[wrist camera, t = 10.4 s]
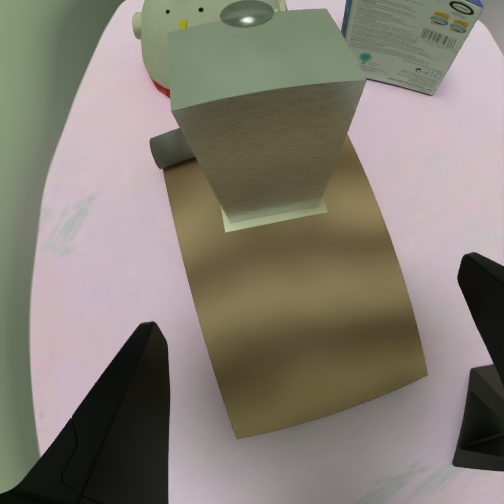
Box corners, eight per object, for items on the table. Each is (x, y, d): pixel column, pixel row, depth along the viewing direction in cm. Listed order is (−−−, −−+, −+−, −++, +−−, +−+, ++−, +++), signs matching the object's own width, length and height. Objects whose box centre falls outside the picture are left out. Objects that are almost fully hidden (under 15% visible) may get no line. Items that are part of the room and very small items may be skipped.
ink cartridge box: (426, 60, 24) (474, -41, 10) (434, 98, 23) (500, -9, 9) (336, 38, 25) (354, -81, 11) (336, 74, 24) (362, -61, 10)
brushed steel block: (318, 206, 21) (366, 80, 8) (230, 223, 21) (171, 111, 8) (300, 140, 22) (316, -7, 9) (219, 156, 22) (167, 16, 9)
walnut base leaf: (420, 372, 20) (443, 381, 16) (238, 432, 20) (232, 453, 16) (328, 108, 24) (334, 81, 20) (163, 154, 24) (147, 132, 20)
